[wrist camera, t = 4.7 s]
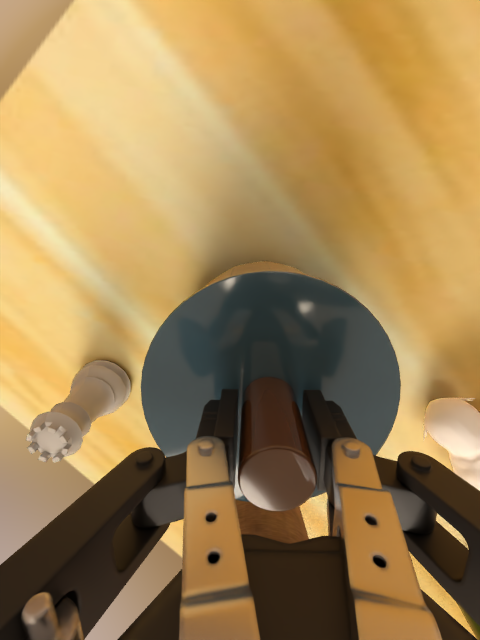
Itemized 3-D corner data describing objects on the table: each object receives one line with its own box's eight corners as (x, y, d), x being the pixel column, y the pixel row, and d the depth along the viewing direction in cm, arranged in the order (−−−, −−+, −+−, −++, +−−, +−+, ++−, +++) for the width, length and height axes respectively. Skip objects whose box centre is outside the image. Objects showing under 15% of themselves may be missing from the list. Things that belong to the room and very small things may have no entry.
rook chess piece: (73, 361, 26) (-3, 416, 18) (125, 353, 25) (70, 407, 18) (89, 408, 27) (24, 479, 19) (138, 402, 27) (93, 471, 19)
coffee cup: (192, 471, 28) (132, 720, 14) (265, 421, 27) (282, 644, 12) (251, 528, 30) (251, 805, 15) (323, 484, 28) (399, 748, 14)
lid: (238, 211, 14) (230, 196, 8) (444, 365, 15) (564, 448, 9) (105, 411, 17) (25, 509, 11) (288, 522, 18) (307, 659, 12)
